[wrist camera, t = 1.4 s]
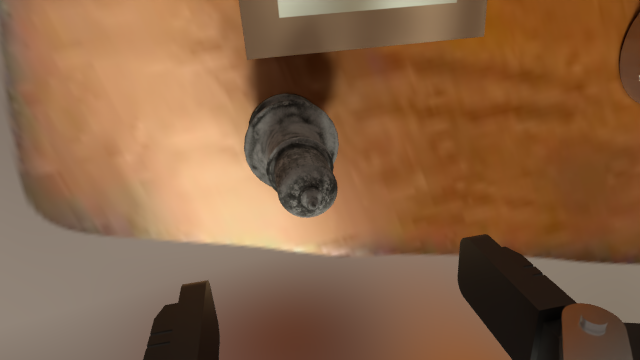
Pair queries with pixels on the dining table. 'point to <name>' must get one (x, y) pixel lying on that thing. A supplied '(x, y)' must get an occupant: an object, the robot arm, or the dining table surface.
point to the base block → (354, 24)
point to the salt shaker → (294, 153)
